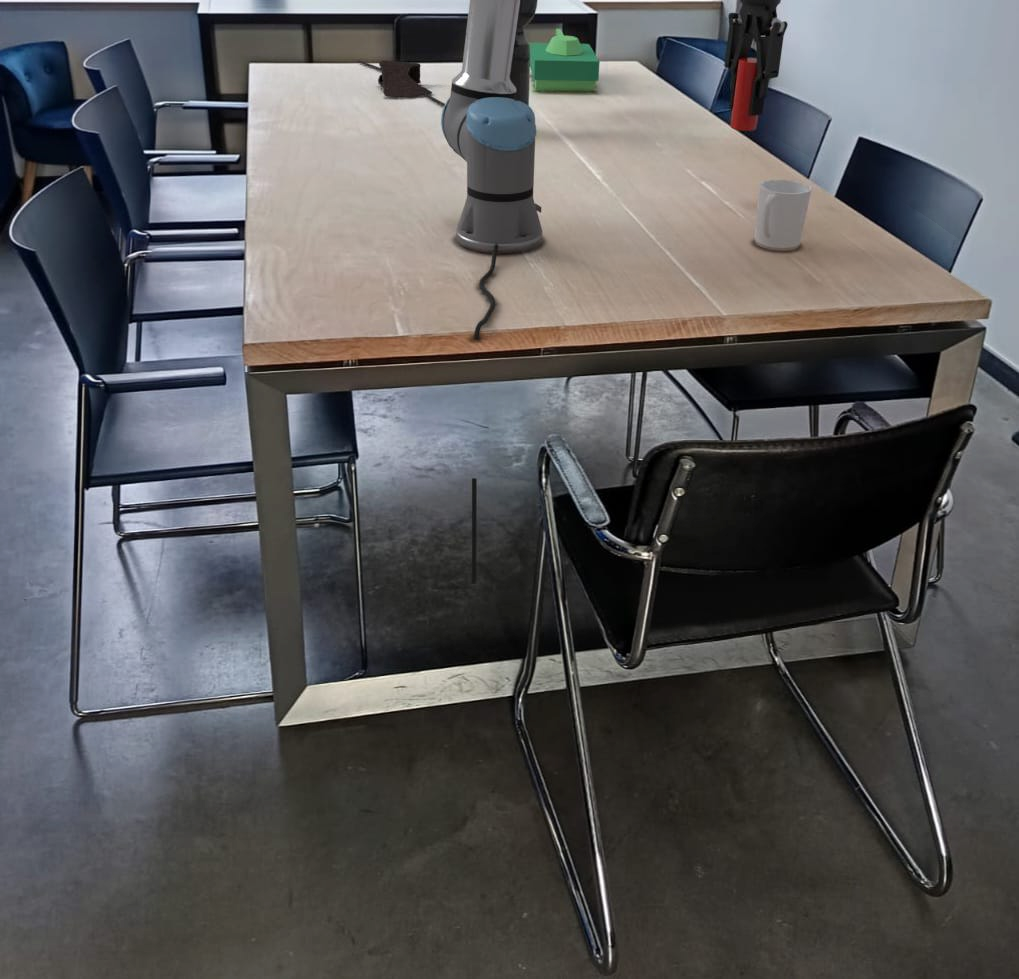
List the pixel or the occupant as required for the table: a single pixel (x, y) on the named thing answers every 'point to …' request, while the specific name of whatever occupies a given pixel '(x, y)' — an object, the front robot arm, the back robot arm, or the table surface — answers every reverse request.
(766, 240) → the mug
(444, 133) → the front robot arm
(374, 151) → the table surface
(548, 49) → the toy tank
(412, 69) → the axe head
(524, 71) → the back robot arm
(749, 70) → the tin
